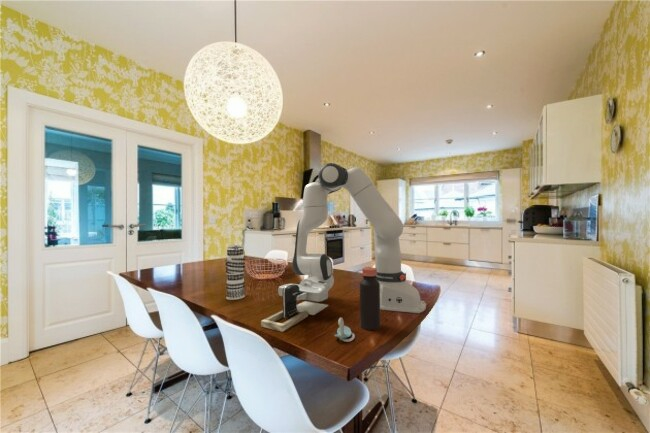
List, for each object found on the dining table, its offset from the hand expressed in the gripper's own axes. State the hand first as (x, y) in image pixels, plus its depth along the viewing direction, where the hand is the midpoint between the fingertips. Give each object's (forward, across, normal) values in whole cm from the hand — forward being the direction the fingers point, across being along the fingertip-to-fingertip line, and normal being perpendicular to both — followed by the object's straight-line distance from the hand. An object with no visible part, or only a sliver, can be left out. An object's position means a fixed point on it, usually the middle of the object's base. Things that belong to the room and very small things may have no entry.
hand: (290, 297), depth 98 cm
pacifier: (+5, +25, +8) cm, 26 cm away
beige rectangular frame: (+2, 0, +8) cm, 8 cm away
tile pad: (-13, 0, +8) cm, 15 cm away
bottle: (-7, +29, +8) cm, 31 cm away
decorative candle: (-10, -40, +8) cm, 42 cm away
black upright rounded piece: (-1, 0, +7) cm, 7 cm away
